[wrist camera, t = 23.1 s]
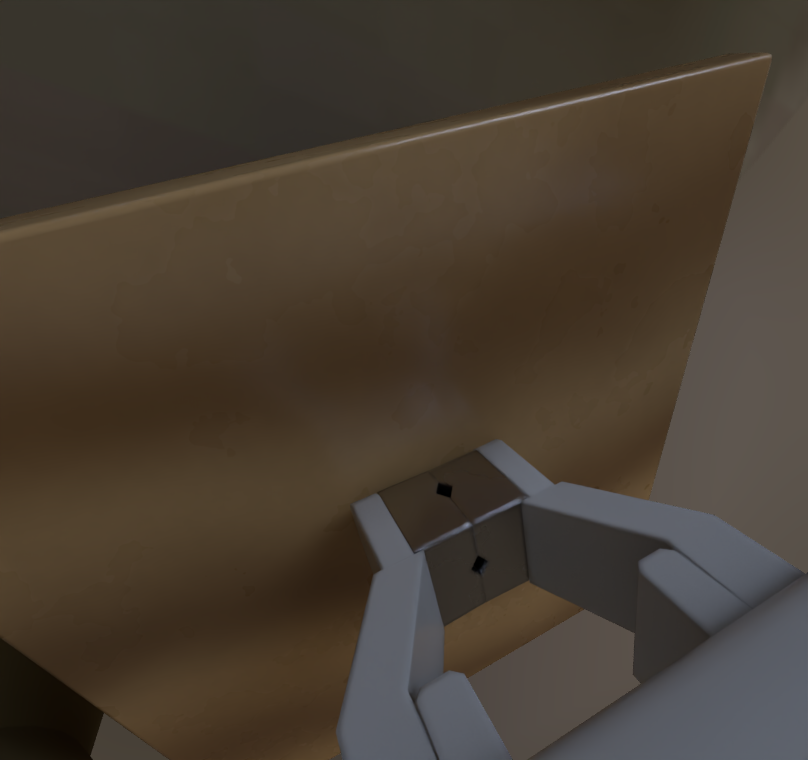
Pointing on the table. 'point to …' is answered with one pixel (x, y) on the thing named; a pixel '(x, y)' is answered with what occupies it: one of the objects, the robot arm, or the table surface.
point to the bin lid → (337, 385)
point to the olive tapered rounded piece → (42, 713)
